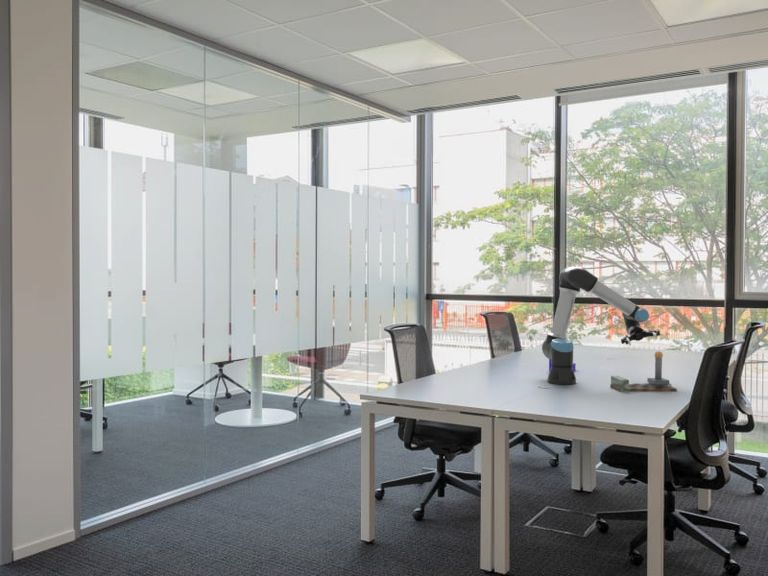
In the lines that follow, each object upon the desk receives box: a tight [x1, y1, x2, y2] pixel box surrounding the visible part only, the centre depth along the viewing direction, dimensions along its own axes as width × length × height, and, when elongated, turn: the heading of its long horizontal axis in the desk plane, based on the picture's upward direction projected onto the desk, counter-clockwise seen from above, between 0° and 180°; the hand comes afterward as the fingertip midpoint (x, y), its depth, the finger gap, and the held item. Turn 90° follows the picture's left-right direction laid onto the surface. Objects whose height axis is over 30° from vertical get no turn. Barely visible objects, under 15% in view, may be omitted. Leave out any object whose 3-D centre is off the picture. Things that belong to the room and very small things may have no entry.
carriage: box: [646, 350, 670, 386], centre depth 355 cm, size 8×8×18 cm
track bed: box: [609, 375, 678, 393], centre depth 354 cm, size 30×14×6 cm, turn 92°
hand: (642, 339), depth 360 cm, fingers open, 13 cm apart
